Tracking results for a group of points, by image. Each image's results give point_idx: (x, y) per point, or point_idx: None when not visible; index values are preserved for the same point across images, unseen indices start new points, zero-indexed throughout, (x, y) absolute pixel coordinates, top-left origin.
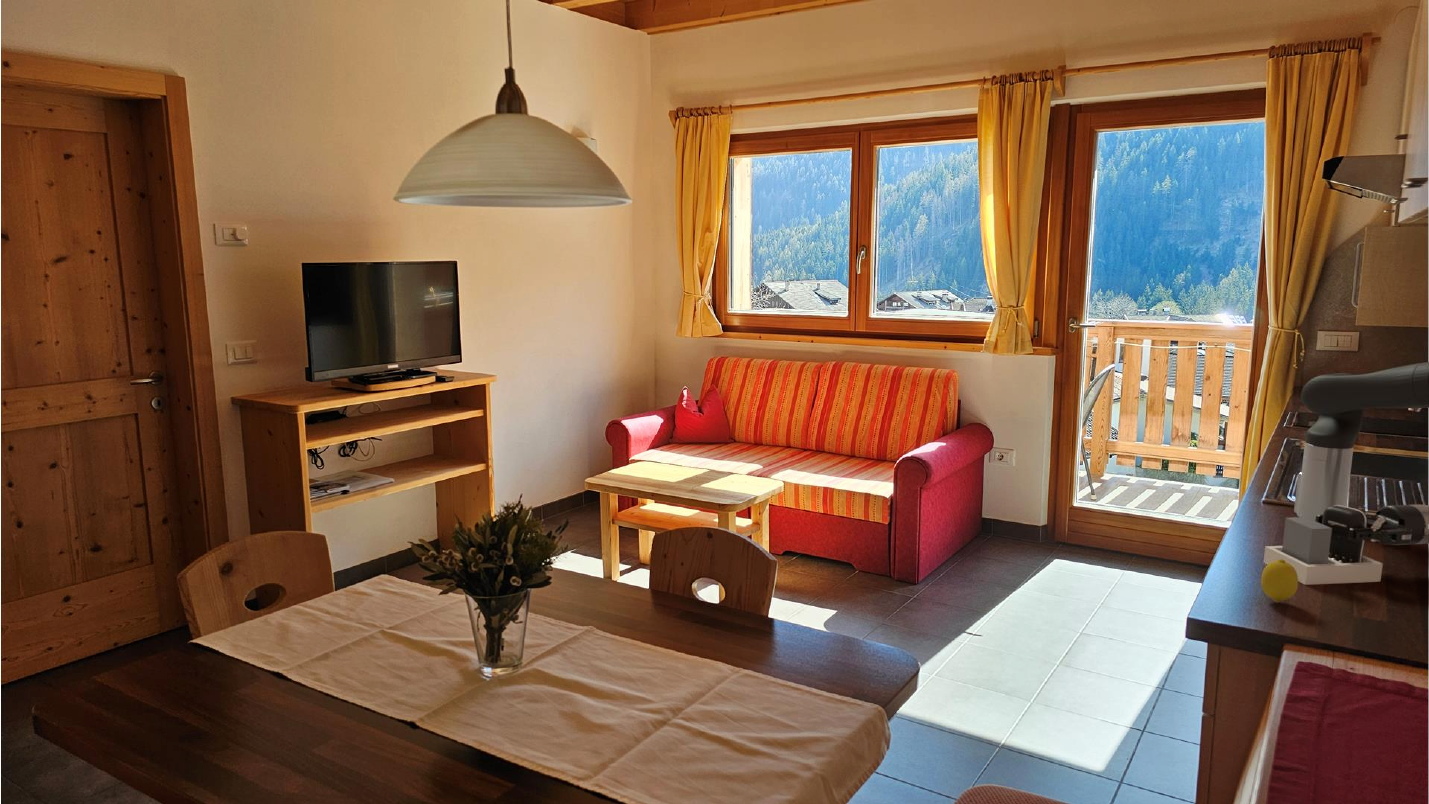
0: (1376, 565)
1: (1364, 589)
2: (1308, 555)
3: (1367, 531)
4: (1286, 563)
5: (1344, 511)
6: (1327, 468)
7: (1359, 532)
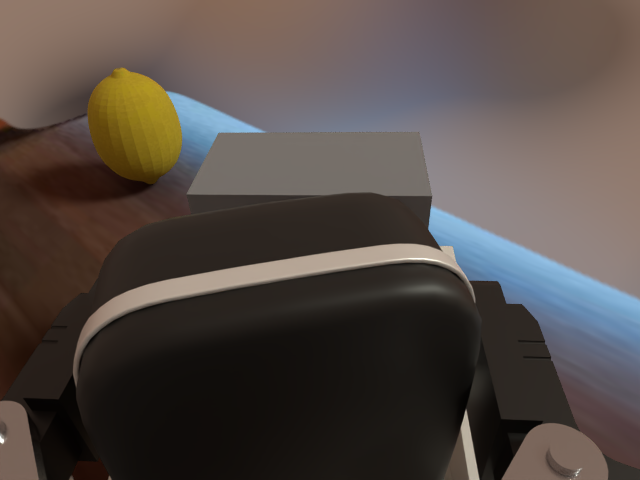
0: None
1: (74, 471)
2: None
3: (34, 371)
4: (107, 78)
5: (222, 209)
6: None
7: (67, 308)
